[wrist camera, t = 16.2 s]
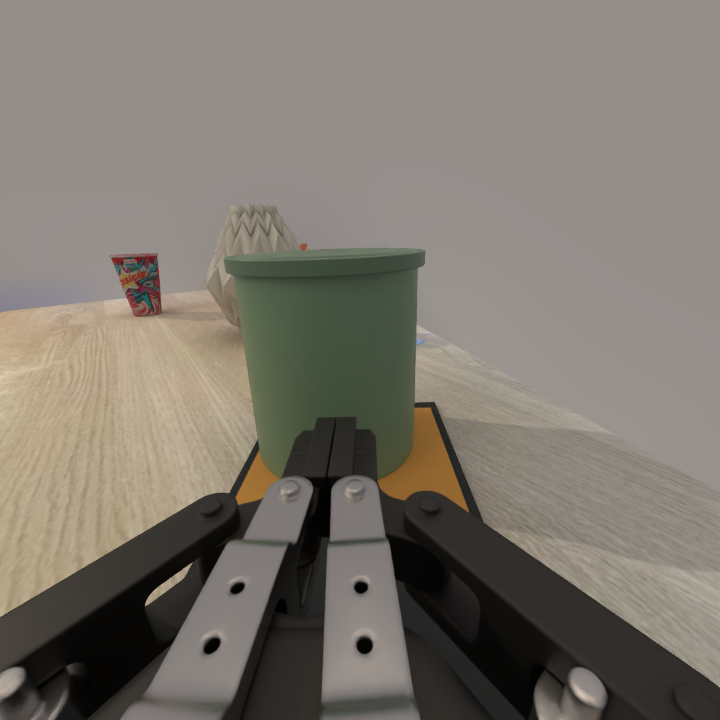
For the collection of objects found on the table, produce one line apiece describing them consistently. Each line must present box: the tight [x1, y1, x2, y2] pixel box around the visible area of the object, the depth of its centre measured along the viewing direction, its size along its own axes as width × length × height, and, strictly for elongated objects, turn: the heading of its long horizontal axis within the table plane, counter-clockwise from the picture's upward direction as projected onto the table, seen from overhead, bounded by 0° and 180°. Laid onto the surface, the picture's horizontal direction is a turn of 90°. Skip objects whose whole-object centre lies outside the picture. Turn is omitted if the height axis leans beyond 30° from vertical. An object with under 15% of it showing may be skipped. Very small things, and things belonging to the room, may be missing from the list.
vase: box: [205, 204, 301, 337], centre depth 53 cm, size 16×16×18 cm
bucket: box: [224, 248, 425, 479], centre depth 23 cm, size 12×12×13 cm
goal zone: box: [236, 408, 469, 512], centre depth 24 cm, size 13×13×1 cm
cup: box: [110, 253, 162, 316], centre depth 72 cm, size 9×8×12 cm
